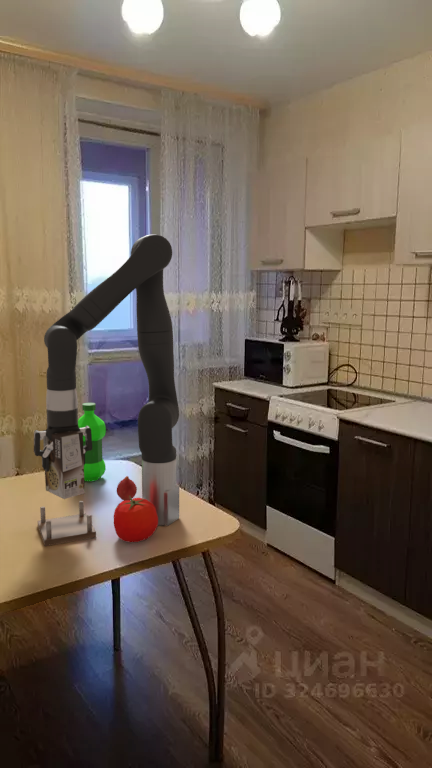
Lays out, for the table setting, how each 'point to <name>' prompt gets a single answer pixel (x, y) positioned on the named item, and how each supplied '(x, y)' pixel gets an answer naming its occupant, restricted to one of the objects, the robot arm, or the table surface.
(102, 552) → the table surface
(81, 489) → the coffee box
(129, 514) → the tomato
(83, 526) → the pin holder
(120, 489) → the onion
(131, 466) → the table surface
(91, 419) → the plastic bottle
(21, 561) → the table surface
